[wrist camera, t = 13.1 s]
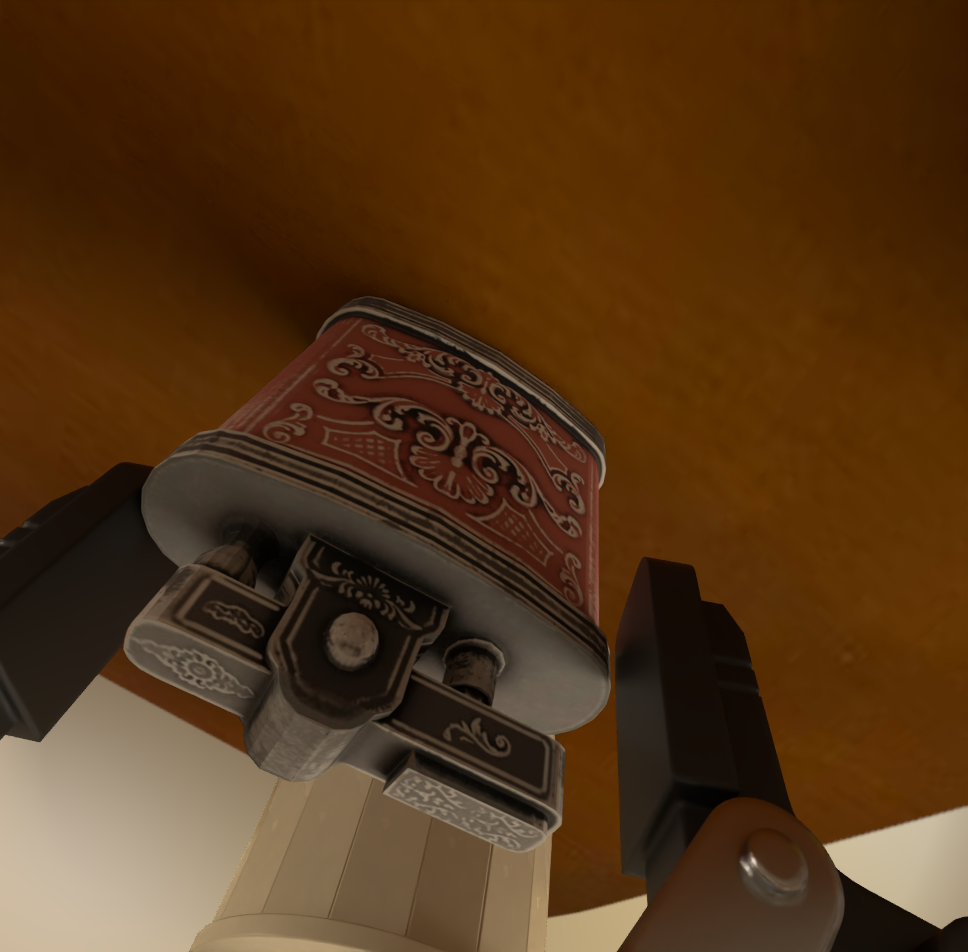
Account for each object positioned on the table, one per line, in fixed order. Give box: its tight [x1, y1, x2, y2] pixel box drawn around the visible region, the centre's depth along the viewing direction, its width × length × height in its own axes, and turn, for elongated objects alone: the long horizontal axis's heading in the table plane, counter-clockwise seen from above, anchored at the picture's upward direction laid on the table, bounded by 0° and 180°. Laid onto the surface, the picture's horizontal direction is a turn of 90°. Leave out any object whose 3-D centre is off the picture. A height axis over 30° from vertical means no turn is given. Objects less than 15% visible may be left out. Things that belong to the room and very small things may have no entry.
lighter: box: [124, 296, 611, 853], centre depth 11 cm, size 8×3×10 cm, turn 60°
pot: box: [213, 734, 555, 952], centre depth 20 cm, size 10×10×8 cm
